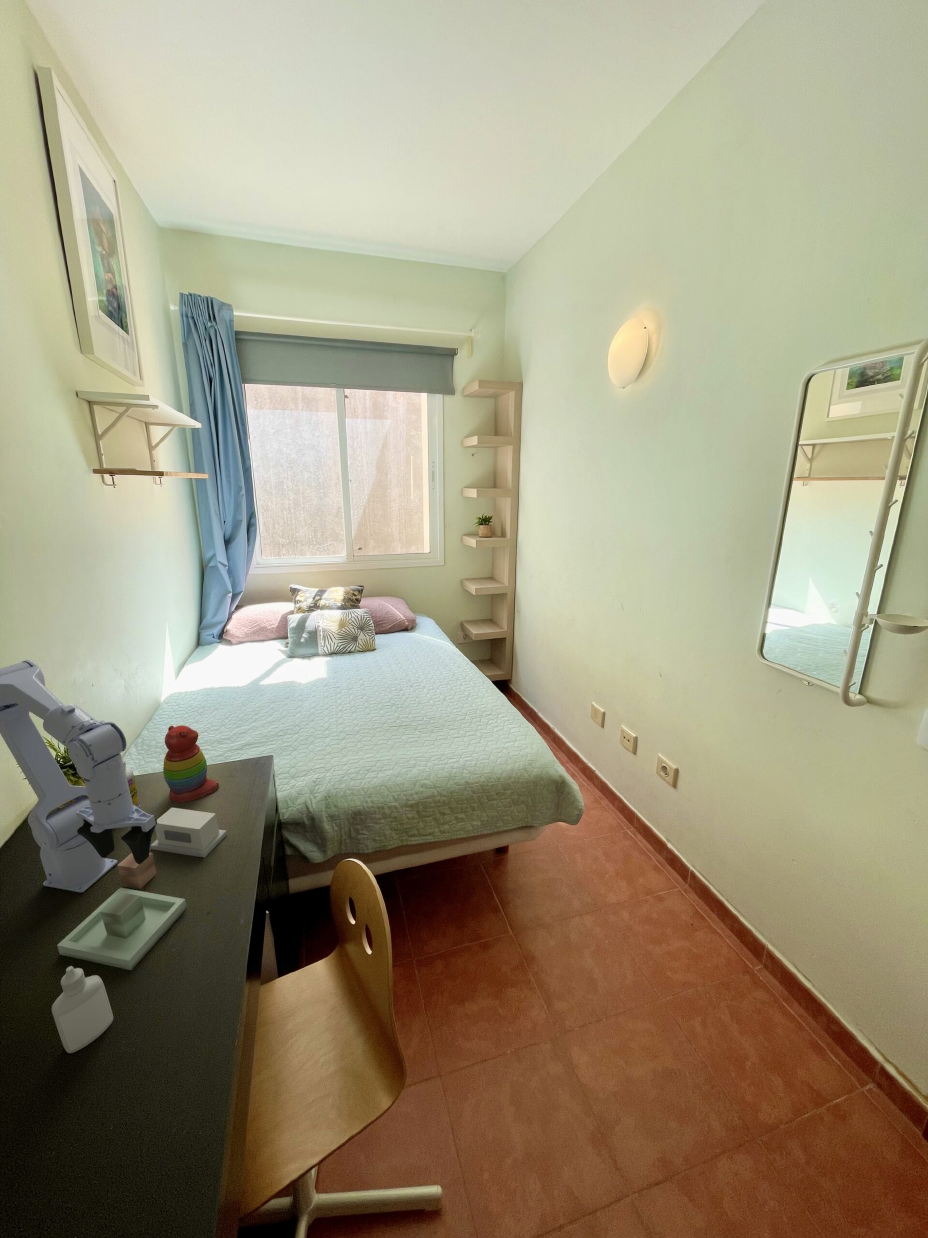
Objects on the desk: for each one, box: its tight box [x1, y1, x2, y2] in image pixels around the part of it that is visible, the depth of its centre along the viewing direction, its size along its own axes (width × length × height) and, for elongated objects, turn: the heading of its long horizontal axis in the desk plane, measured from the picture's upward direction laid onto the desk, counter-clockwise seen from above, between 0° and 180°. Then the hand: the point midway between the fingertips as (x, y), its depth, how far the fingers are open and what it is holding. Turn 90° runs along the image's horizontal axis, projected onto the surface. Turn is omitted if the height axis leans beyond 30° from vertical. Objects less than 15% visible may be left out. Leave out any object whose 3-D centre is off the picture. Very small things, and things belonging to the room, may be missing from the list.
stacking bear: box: [162, 724, 220, 803], centre depth 121 cm, size 11×10×18 cm
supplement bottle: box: [122, 757, 141, 809], centre depth 114 cm, size 7×7×13 cm
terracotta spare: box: [116, 851, 158, 890], centre depth 95 cm, size 4×4×5 cm
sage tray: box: [57, 887, 187, 971], centre depth 85 cm, size 14×12×2 cm
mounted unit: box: [150, 807, 228, 858], centre depth 105 cm, size 13×7×6 cm, turn 78°
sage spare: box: [100, 892, 146, 939], centre depth 85 cm, size 4×4×5 cm
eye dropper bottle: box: [51, 965, 114, 1054], centre depth 68 cm, size 4×6×12 cm
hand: (125, 857), depth 89 cm, fingers open, 7 cm apart
